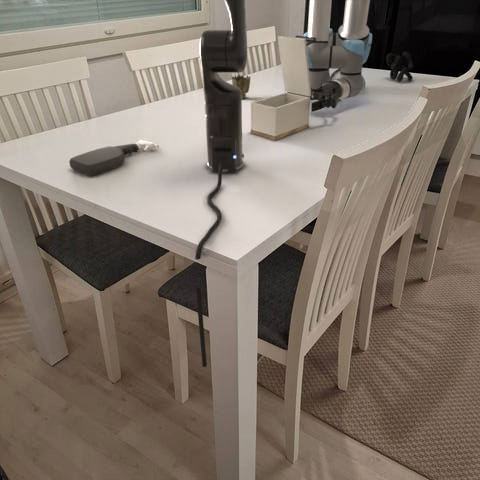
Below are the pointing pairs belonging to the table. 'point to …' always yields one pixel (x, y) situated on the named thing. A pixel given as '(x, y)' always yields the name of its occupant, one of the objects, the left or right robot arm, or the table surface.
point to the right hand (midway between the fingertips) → (295, 103)
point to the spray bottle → (106, 157)
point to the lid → (295, 63)
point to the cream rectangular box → (280, 115)
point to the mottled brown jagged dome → (242, 84)
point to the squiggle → (399, 66)
